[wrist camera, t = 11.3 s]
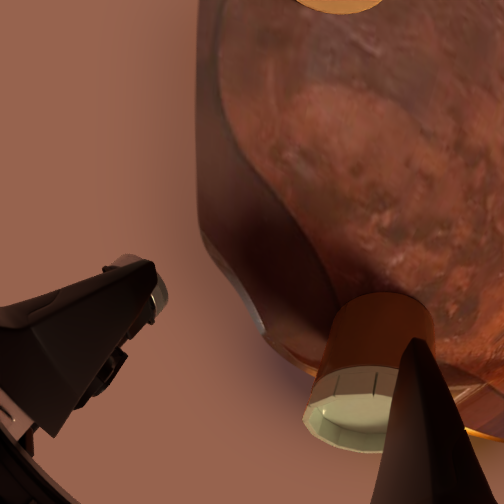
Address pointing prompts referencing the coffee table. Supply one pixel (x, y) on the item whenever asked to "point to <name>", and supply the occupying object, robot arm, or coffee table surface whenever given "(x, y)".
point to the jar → (364, 369)
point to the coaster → (339, 5)
